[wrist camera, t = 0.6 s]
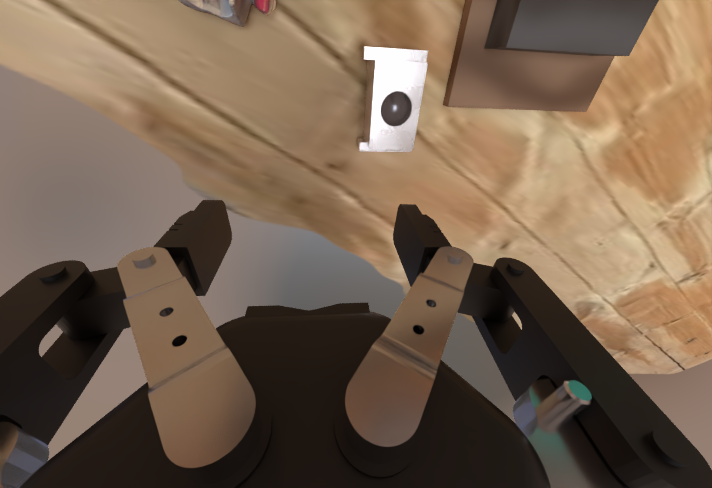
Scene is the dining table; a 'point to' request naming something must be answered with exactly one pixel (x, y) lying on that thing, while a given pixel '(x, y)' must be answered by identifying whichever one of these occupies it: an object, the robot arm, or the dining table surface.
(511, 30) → the stand
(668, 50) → the dining table surface
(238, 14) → the brake caliper
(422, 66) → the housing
